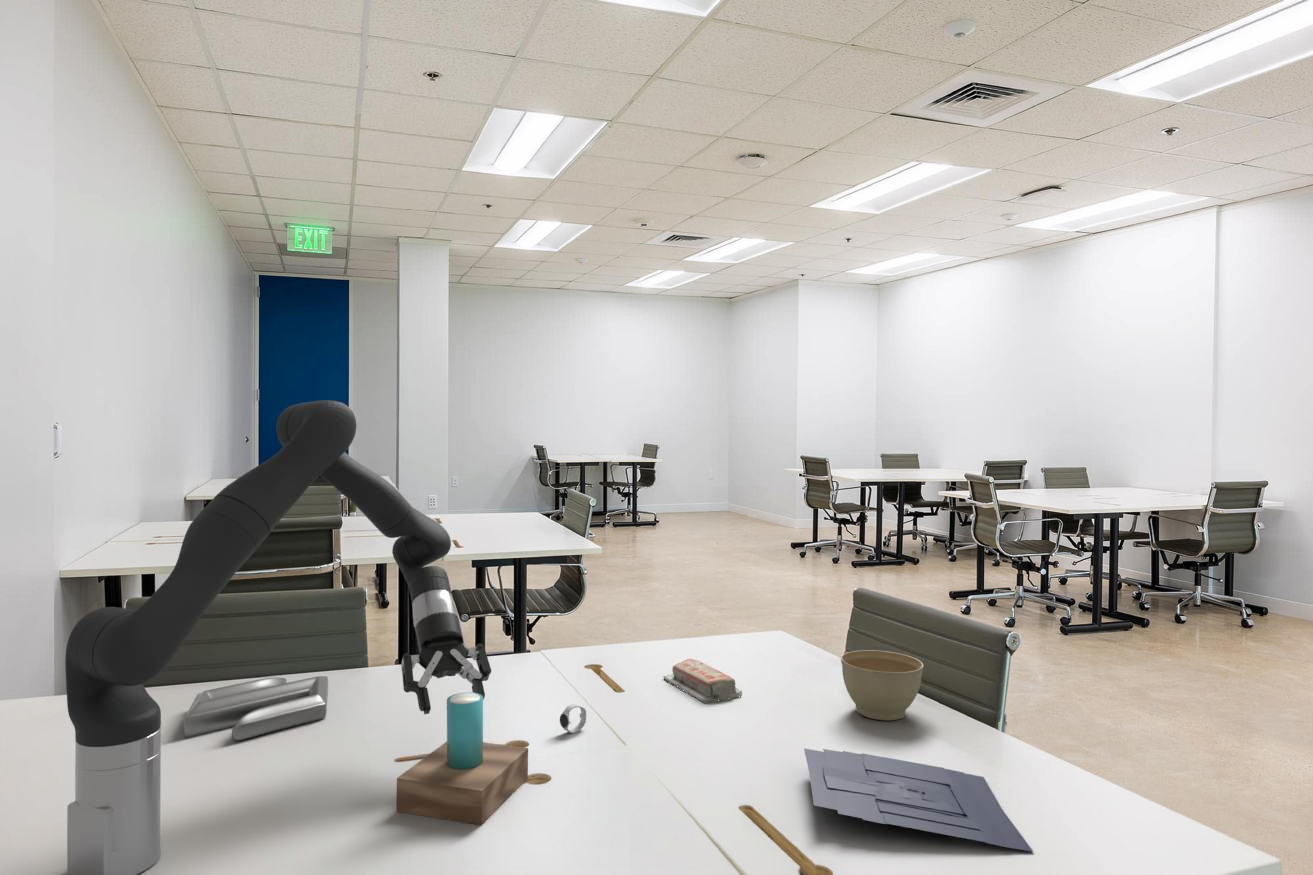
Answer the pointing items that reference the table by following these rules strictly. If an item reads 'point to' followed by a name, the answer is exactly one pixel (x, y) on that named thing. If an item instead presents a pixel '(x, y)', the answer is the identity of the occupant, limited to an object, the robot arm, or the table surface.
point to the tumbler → (464, 730)
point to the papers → (910, 796)
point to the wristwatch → (565, 720)
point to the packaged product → (703, 681)
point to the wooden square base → (462, 784)
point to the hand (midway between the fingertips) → (454, 707)
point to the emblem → (257, 707)
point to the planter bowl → (881, 682)
